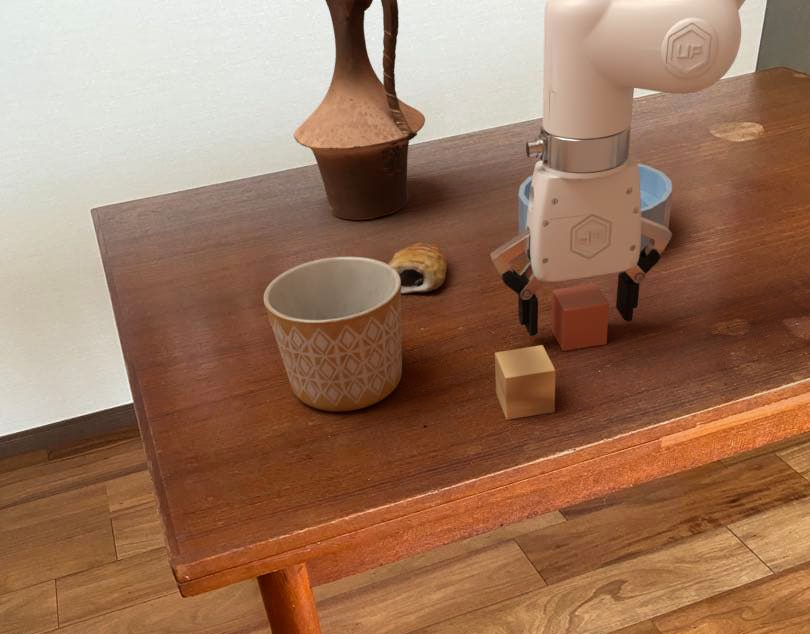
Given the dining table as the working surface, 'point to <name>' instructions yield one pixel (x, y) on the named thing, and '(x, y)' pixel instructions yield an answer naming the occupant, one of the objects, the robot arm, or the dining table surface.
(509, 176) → the dining table surface
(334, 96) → the pitcher
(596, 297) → the block
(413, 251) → the pastry
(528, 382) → the block
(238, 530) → the dining table surface
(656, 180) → the bowl
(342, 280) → the planter
